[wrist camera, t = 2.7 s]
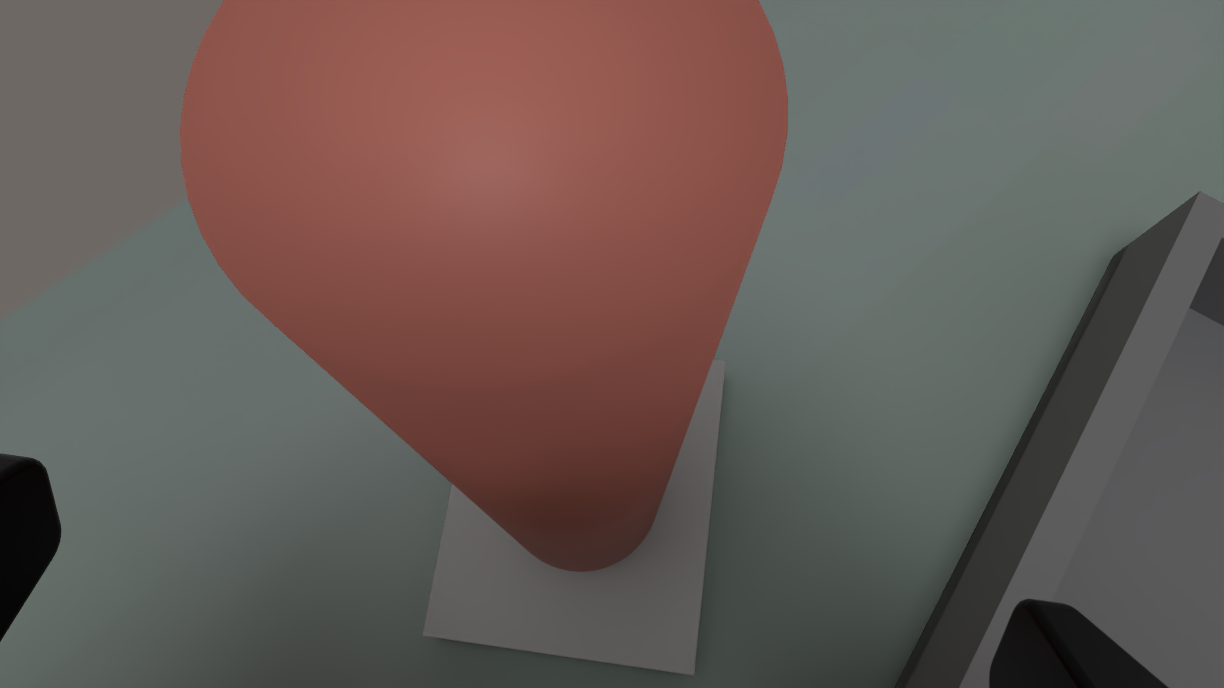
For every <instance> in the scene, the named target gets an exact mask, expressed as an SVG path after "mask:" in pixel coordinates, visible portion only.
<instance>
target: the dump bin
mask: <svg viewBox="0 0 1224 688" xmlns="http://www.w3.org/2000/svg"><path fill="white" fill-rule="evenodd" d="M1025 599H1036V600H1043V601H1050V602H1057V603H1064V604H1067V605H1070V606H1072V607H1074V608H1075V609H1076V610H1078V611H1079V612H1080V613H1082V614H1083V615H1084V616H1085V617H1086V618H1087V619H1089V620H1090V621H1091V622H1092V623H1093V624H1094V625H1096V626H1097V627H1098V628H1099V629H1100V630H1102V631H1103V632H1104V633H1105V634H1106V635H1107V636H1109V637H1110V638H1111V639H1112V640H1113V641H1114V642H1116V643H1117V644H1118V645H1119V646H1120V647H1122V648H1123V649H1124V650H1125V651H1126V652H1127V653H1129V654H1130V655H1131V656H1132V657H1133V658H1134V659H1136V660H1137V661H1138V662H1139V663H1140V664H1142V665H1143V666H1144V667H1145V668H1146V669H1147V670H1149V671H1150V672H1151V673H1152V674H1153V675H1154V676H1156V677H1157V678H1158V679H1159V680H1160V681H1162V682H1163V683H1164V684H1165V685H1166V686H1167V687H1169V688H1224V203H1222V202H1220V201H1218V200H1216V199H1214V198H1212V197H1210V196H1208V195H1206V194H1204V193H1202V192H1198V193H1197V194H1196V195H1194V196H1193V197H1192V198H1190V199H1189V200H1188V201H1186V202H1185V203H1184V204H1182V205H1181V206H1180V207H1178V208H1177V209H1176V210H1174V211H1173V212H1171V213H1170V214H1169V215H1167V216H1166V217H1165V218H1163V219H1162V220H1161V221H1159V222H1158V223H1157V224H1155V225H1154V226H1153V227H1151V228H1150V229H1149V230H1147V231H1146V232H1145V233H1143V234H1142V235H1141V236H1139V237H1138V238H1137V239H1135V240H1134V241H1133V242H1131V243H1130V244H1129V245H1127V246H1126V247H1125V248H1123V249H1122V250H1121V251H1119V252H1118V253H1117V254H1115V255H1114V256H1113V258H1112V260H1111V262H1110V264H1109V266H1108V268H1107V270H1106V272H1105V274H1104V276H1103V278H1102V280H1101V282H1100V284H1099V286H1098V288H1097V290H1096V292H1095V294H1094V296H1093V298H1092V300H1091V302H1090V304H1089V306H1088V308H1087V310H1086V312H1085V314H1084V316H1083V318H1082V320H1081V322H1080V324H1079V325H1078V327H1077V329H1076V331H1075V333H1074V335H1073V337H1072V339H1071V341H1070V343H1069V345H1068V347H1067V349H1066V351H1065V353H1064V355H1063V357H1062V359H1061V361H1060V363H1059V365H1058V367H1057V369H1056V371H1055V373H1054V375H1053V377H1052V379H1051V381H1050V383H1049V385H1048V387H1047V389H1046V391H1045V393H1044V395H1043V397H1042V398H1041V400H1040V402H1039V404H1038V406H1037V408H1036V410H1035V412H1034V414H1033V416H1032V418H1031V420H1030V422H1029V424H1028V426H1027V428H1026V430H1025V432H1024V434H1023V436H1022V438H1021V440H1020V442H1019V444H1018V446H1017V448H1016V450H1015V452H1014V454H1013V456H1012V458H1011V460H1010V462H1009V464H1008V466H1007V468H1006V470H1005V472H1004V473H1003V475H1002V477H1001V479H1000V481H999V483H998V485H997V487H996V489H995V491H994V493H993V495H992V497H991V499H990V501H989V503H988V505H987V507H986V509H985V511H984V513H983V515H982V517H981V519H980V521H979V523H978V525H977V527H976V529H975V531H974V533H973V535H972V537H971V539H970V541H969V543H968V545H967V546H966V548H965V550H964V552H963V554H962V556H961V558H960V560H959V562H958V564H957V566H956V568H955V570H954V572H953V574H952V576H951V578H950V580H949V582H948V584H947V586H946V588H945V590H944V592H943V594H942V596H941V598H940V600H939V602H938V604H937V606H936V608H935V610H934V612H933V614H932V616H931V618H930V619H929V621H928V623H927V625H926V627H925V629H924V631H923V633H922V635H921V637H920V639H919V641H918V643H917V645H916V647H915V649H914V651H913V653H912V655H911V657H910V659H909V661H908V663H907V665H906V667H905V669H904V671H903V673H902V675H901V677H900V679H899V681H898V683H897V685H896V687H895V688H989V673H990V667H991V663H992V660H993V658H994V655H995V653H996V650H997V648H998V646H999V643H1000V641H1001V638H1002V636H1003V634H1004V631H1005V629H1006V626H1007V624H1008V622H1009V619H1010V617H1011V614H1012V612H1013V610H1014V608H1015V607H1016V605H1017V604H1018V603H1019V602H1020V601H1022V600H1025Z"/></svg>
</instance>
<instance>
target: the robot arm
mask: <svg viewBox="0 0 1224 688" xmlns="http://www.w3.org/2000/svg"><path fill="white" fill-rule="evenodd" d="M60 539H61V524H60V520H59V516H58V512H57V508H56V504H55V500H54V496H53V492H52V488H51V484H50V480H49V477H48V473H47V470H46V468H45V467H44V466H43V465H42V463H41V462H40V461H38V460H36V459H33V458H29V457H22V456H15V455H8V454H0V641H1V640H2V638H3V637H4V635H5V633H6V632H7V630H8V629H9V627H10V625H11V624H12V622H13V621H14V619H15V618H16V616H17V614H18V613H19V611H20V610H21V608H22V606H23V605H24V603H25V602H26V600H27V598H28V597H29V595H30V594H31V592H32V591H33V589H34V587H35V586H36V584H37V583H38V581H39V579H40V578H41V576H42V575H43V573H44V571H45V570H46V568H47V567H48V565H49V564H50V562H51V560H52V559H53V557H54V555H55V553H56V551H57V549H58V546H59V543H60ZM989 688H1169V687H1167V686H1166V685H1165V684H1164V683H1163V682H1162V681H1160V680H1159V679H1158V678H1157V677H1156V676H1154V675H1153V674H1152V673H1151V672H1150V671H1149V670H1147V669H1146V668H1145V667H1144V666H1143V665H1142V664H1140V663H1139V662H1138V661H1137V660H1136V659H1134V658H1133V657H1132V656H1131V655H1130V654H1129V653H1127V652H1126V651H1125V650H1124V649H1123V648H1122V647H1120V646H1119V645H1118V644H1117V643H1116V642H1114V641H1113V640H1112V639H1111V638H1110V637H1109V636H1107V635H1106V634H1105V633H1104V632H1103V631H1102V630H1100V629H1099V628H1098V627H1097V626H1096V625H1094V624H1093V623H1092V622H1091V621H1090V620H1089V619H1087V618H1086V617H1085V616H1084V615H1083V614H1082V613H1080V612H1079V611H1078V610H1076V609H1075V608H1074V607H1072V606H1070V605H1067V604H1064V603H1057V602H1050V601H1043V600H1036V599H1025V600H1022V601H1020V602H1019V603H1018V604H1017V605H1016V607H1015V608H1014V610H1013V612H1012V614H1011V617H1010V619H1009V622H1008V624H1007V626H1006V629H1005V631H1004V634H1003V636H1002V638H1001V641H1000V643H999V646H998V648H997V650H996V653H995V655H994V658H993V660H992V663H991V667H990V673H989Z"/></svg>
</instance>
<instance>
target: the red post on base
mask: <svg viewBox="0 0 1224 688" xmlns="http://www.w3.org/2000/svg"><path fill="white" fill-rule="evenodd" d="M787 129H788V96H787V89H786V82H785V75H784V68H783V63H782V59H781V56H780V53H779V49H778V46H777V43H776V39H775V36H774V33H773V30H772V28H771V26H770V24H769V22H768V20H767V17H766V15H765V13H764V11H763V9H762V7H761V5H760V2H759V1H758V0H224V1H223V3H222V4H221V6H220V8H219V9H218V11H217V13H216V15H215V16H214V18H213V20H212V21H211V23H210V25H209V26H208V28H207V30H206V32H205V34H204V37H203V39H202V41H201V44H200V46H199V49H198V51H197V53H196V56H195V58H194V60H193V63H192V67H191V71H190V74H189V78H188V82H187V86H186V90H185V93H184V100H183V108H182V118H181V127H180V140H181V164H182V170H183V175H184V179H185V185H186V190H187V195H188V200H189V202H190V205H191V208H192V210H193V213H194V216H195V219H196V221H197V224H198V227H199V229H200V232H201V234H202V236H203V238H204V240H205V241H206V243H207V245H208V247H209V248H210V250H211V252H212V254H213V256H214V257H215V259H216V261H217V263H218V265H219V266H220V267H221V269H222V270H223V271H224V272H225V274H226V275H227V276H228V277H229V279H230V280H231V281H232V283H233V284H234V285H235V286H236V288H237V289H238V290H239V291H240V293H241V294H242V295H243V296H244V297H245V298H246V299H247V300H248V301H249V302H250V303H251V304H252V305H253V306H254V307H256V308H257V309H258V310H259V311H260V312H261V313H262V314H263V315H264V316H265V317H266V318H267V319H268V320H269V321H270V322H272V323H273V324H274V325H275V326H276V327H277V328H278V329H279V330H281V331H282V332H283V333H284V334H285V335H286V336H287V337H288V338H290V339H291V340H292V341H293V342H294V343H295V344H296V345H297V346H299V347H300V348H301V349H302V350H303V351H304V352H305V353H306V354H307V355H309V356H310V357H311V358H312V359H313V360H314V361H315V362H316V363H318V364H319V365H320V366H321V367H322V368H323V369H324V370H325V371H327V372H328V373H329V374H330V375H331V376H332V377H333V378H334V379H336V380H337V381H338V382H339V383H340V384H341V385H342V386H343V387H345V388H346V389H347V390H348V391H349V392H350V393H351V394H352V395H353V396H355V397H356V398H357V399H358V400H359V401H360V402H361V403H362V404H364V405H365V406H366V407H367V408H368V409H369V410H370V411H371V412H373V413H374V414H375V415H376V416H377V417H378V418H379V419H380V420H382V421H383V422H384V423H385V424H386V425H387V426H388V427H389V428H391V429H392V430H393V431H394V432H395V433H396V434H397V435H398V436H399V437H401V438H402V439H403V440H404V441H405V442H406V443H407V444H408V445H410V446H411V447H412V448H413V449H414V450H415V451H416V452H417V453H419V454H420V455H421V456H422V457H423V458H424V459H425V460H426V461H428V462H429V463H430V464H431V465H432V466H433V467H434V468H435V469H437V470H438V471H439V472H440V473H441V474H442V475H443V476H444V477H446V478H447V479H448V480H449V481H450V482H451V483H452V485H451V490H450V495H449V500H448V506H447V511H446V516H445V521H444V526H443V531H442V536H441V541H440V546H439V552H438V557H437V562H436V567H435V572H434V577H433V582H432V587H431V593H430V598H429V603H428V608H427V613H426V618H425V623H424V628H423V633H422V636H429V637H436V638H442V639H449V640H456V641H463V642H470V643H476V644H483V645H490V646H497V647H504V648H510V649H517V650H524V651H531V652H538V653H544V654H551V655H558V656H565V657H572V658H578V659H585V660H592V661H599V662H606V663H612V664H619V665H626V666H633V667H640V668H646V669H653V670H660V671H667V672H674V673H680V674H687V675H694V671H695V661H696V651H697V641H698V631H699V621H700V611H701V602H702V592H703V582H704V572H705V562H706V552H707V542H708V532H709V523H710V513H711V503H712V493H713V483H714V473H715V463H716V454H717V444H718V434H719V424H720V414H721V404H722V394H723V384H724V375H725V365H726V360H719V359H713V358H714V356H715V353H716V350H717V347H718V345H719V342H720V339H721V336H722V334H723V331H724V328H725V326H726V323H727V320H728V317H729V315H730V312H731V309H732V306H733V304H734V301H735V298H736V295H737V293H738V290H739V287H740V284H741V282H742V279H743V276H744V273H745V271H746V268H747V265H748V263H749V260H750V257H751V254H752V252H753V249H754V246H755V243H756V241H757V238H758V235H759V232H760V230H761V227H762V224H763V221H764V219H765V216H766V213H767V211H768V208H769V205H770V202H771V199H772V196H773V193H774V190H775V187H776V184H777V181H778V177H779V174H780V171H781V168H782V163H783V157H784V151H785V144H786V138H787Z"/></svg>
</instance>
